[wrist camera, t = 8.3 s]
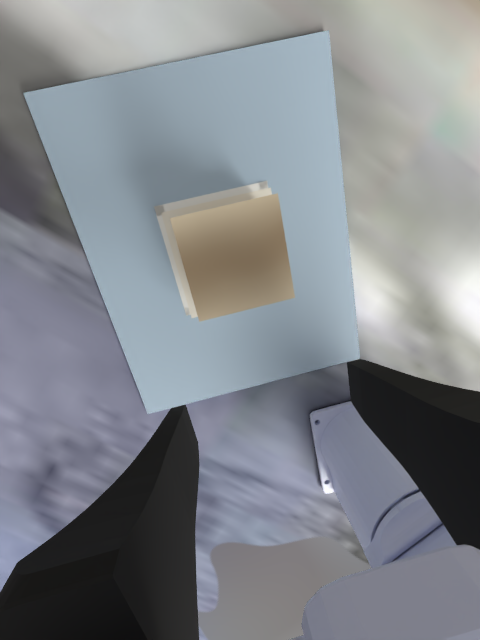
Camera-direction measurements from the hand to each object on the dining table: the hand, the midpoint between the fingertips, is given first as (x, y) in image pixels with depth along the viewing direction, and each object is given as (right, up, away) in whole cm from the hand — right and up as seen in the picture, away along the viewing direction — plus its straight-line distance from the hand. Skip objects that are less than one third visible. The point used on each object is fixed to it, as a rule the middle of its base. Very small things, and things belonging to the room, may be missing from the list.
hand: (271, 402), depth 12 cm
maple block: (-2, +7, +4) cm, 8 cm away
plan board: (-3, +8, +8) cm, 12 cm away
